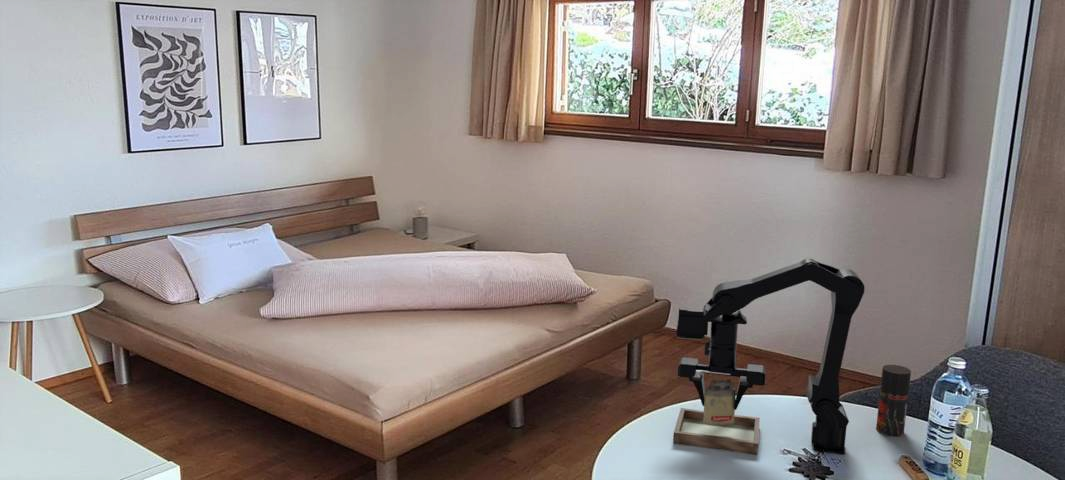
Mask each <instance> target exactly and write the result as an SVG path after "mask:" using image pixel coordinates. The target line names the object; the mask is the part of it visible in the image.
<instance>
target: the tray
mask: <svg viewBox="0 0 1065 480" xmlns="http://www.w3.org/2000/svg"><path fill="white" fill-rule="evenodd" d="M703 419H704V410H701V409H700V410H699V409H694V408H693V409H692V408H685V407H680V410H679V413H678V417H677V419H676V423H675V427H674V430H673V437H672V438H673V439H672V444H674V445H675V444H676V445H683V446H690V447H697V448H704V449H712V450H719V451H725V452H727V451H728V452H734V453H741V454H748V455H754V456H755V455H756V456H757V455H758V452H759V451H758V450H759V437H760V434H759V433H760V419H761V418H760V417H756V416H748V415H739V414H734V423H733V424H730V425H713V426H712V425H707V424H704V423H703Z"/></svg>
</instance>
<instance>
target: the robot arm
mask: <svg viewBox="0 0 1065 480" xmlns="http://www.w3.org/2000/svg"><path fill="white" fill-rule="evenodd" d="M808 281H810V282H813V283H814V284H816V285H818V286H820V287H822V288H824V289H826V290H828V291H829V292H830V299H831V300H830V302H831V313H830V318H829V321H828V322H829V323H828V328H827V333H826V337H825V342H824V346H823V350H822V351H823V352H822V357H821V360H820V361H821V362H820V366H819V370H818V372H817V373H816V374H815V376H814V375H808V385H807V388H806V389H805V394H806V398H807V400H808V403H809V405H810V408H811V411H812V413H813V414H814V415H815V421H813V422H811V423H812V425H811V426H812V427H811V435H810V440H811V442H810V443H811V445H812V446H813V450H814V451H819V452H826V453H835V454H841V455H845V454H846V448H845V446H846V435H847V428H848V427H847V426H848V424H849V423H850V421H849V417H848V415H847V413H846V410H845V408H844V405H843V404H842V403H841V402H840V396H841V395H840V394H841V393H840V379H839V378H840V374H841V369H842V364H843V359H844V356H845V355H844V354H845V350H846V346H847V340H848V336H849V332H850V326H851V321H852V317H853V315H854V314H855V312H856V311H857V310H858V308H859V306H860V304H861V301H862V298H863V297H864V295H865V289H866V288H865V284H864V282H863V280H861V278H860V277H859V274H857V272H856V271H854V270H852V269H850V268H843V269H839V268H837V267H834V266H831V265H829V264H826V263H822V262H819V261H817V260H815V259H813V258H810V257H808V258H804V259H803V260H801V261H799V262H797V263H796V262H795V263H793V264H790V265H787V266H785V267H783V268H779V269H776V270H773V271H771V272H768V273H765V274H762V275H759V276H756V277H754V278H750V279H743V280H742V279H740V280H731V281H726V282H725V281H724V282H721V283H718V284H717V285H716V286H715V287H714V289H713V291H712V297H711V298H710V299H709V300H708V301H707V302H706V303H705V305H704V306H702V307H703V308H702V309H700V308H699V309H698V308H687V307H684V306H683V307H681V306H680V307H679V308H678V317H677V321H676V323H677V324H676V339H685V340H686V339H687V340H699V341H700V340H701V341H702V340H703V339H705V336H706V337H707V336H708V331H709V330H708V328H709V323H710V335H709V336H710V338H709V339H710V340H709V341H705V344H704V352H703V353H704V356H708V358H709V359H708V364H702V363H699V359H698V358H693V357H682V358H681V359H679V362H678V367H677V376H678V377H680V378H688V381H689V382H692V383H693V385H694V387H695V389H696V391H697V393H698V396H699V398H700V399H699V400H700V402H701V405H702V407H704V401H705V390H706V388H705V374H708V375H717V376H718V375H719V376H725V377H727V376H728V377H733V378H734V377H736V378H739V382H738V387H737V391H736V397H735V408H734V410H735V411H736V410H737V409H738V408H739V405H740V402H741V401H742V398H743V397H744V394H745V393H746V391H748V389H752V388H754V386H761V387H763V386H765V385H766V383H765V382H766V369H767V368H766V367H765V365H760V364H751V363H750V364H749V363H748V364H747V367H746V368H740V367H736V366H737V355H738V353H737V344H738V328H739V327H738V326H739V325H747V324H748V320H747V317H746V316H745V315H744V314H743V313H742V311H741V309H744V308H745V307H747V306H748V305H749V304H751V303H752V302H754V301H755V300H757V299H760V298H763V297H766V296H768V295H770V294H773V293H777V292H780V291H782V290H785V289H788V288H791V287H794V286H797V285H799V284H803V283H805V282H808Z"/></svg>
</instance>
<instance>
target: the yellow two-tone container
mask: <svg viewBox="0 0 1065 480" xmlns="http://www.w3.org/2000/svg"><path fill="white" fill-rule="evenodd" d="M734 384H735V382H733V381H732V379H731V378H728V379H725V380H715V379H714V380H710V385H709V386H708V387H706V388H705V401H704V406H703V411H704V419H703V423H704V424H707V425H712V426H713V425H730V424H733V423H734V415H735V411H736V410H734V408H735V399H736V395H737V391H736V388H735V387H734Z"/></svg>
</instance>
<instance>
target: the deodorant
mask: <svg viewBox="0 0 1065 480" xmlns="http://www.w3.org/2000/svg"><path fill="white" fill-rule="evenodd" d="M881 371H882V373H881V380H880V389H879V399H878V408H877V415H876V416H877V418H876V428H875V430H876V431H877V432H878V433H880V434H881V435H883V436H884V435H885V436H888V437H894V438H895V437H896V438H897V437H902V436H904V434H905V427H906V426H905V425H906V416H907V408H908V401H909V392H910V384H911V382H910V381H911V374H912V370H911V369H910V368H908V367H906V366H903V365H898V364H885V365H883V366H882V369H881Z"/></svg>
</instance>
